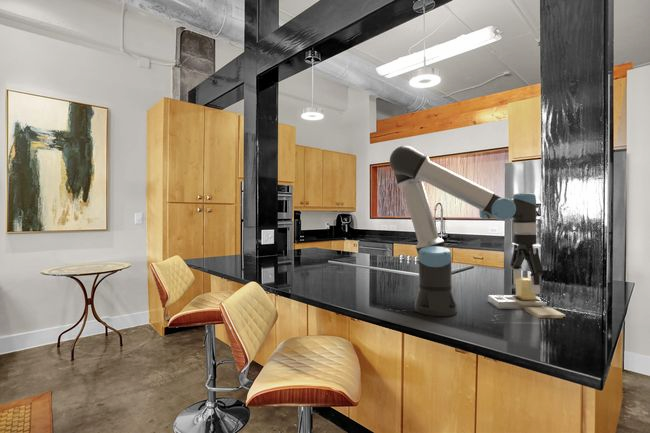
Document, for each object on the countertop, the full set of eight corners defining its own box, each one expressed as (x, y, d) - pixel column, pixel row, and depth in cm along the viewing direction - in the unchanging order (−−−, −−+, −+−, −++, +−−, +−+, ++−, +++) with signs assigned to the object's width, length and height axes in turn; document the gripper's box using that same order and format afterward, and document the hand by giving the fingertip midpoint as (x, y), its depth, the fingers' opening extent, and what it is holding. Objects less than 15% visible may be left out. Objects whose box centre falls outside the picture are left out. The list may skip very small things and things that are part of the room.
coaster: (537, 319, 114) (537, 314, 114) (524, 311, 123) (524, 307, 123) (565, 319, 114) (565, 315, 114) (550, 311, 123) (550, 307, 123)
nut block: (522, 306, 127) (521, 280, 127) (515, 303, 132) (515, 277, 132) (536, 307, 127) (535, 280, 127) (529, 303, 132) (529, 277, 132)
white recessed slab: (498, 309, 126) (498, 301, 126) (488, 302, 136) (488, 294, 136) (549, 310, 124) (549, 301, 124) (535, 302, 134) (535, 295, 134)
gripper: (554, 235, 116) (555, 297, 117) (519, 231, 141) (520, 282, 141) (531, 236, 117) (532, 297, 117) (501, 231, 142) (502, 282, 142)
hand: (526, 289), depth 129 cm, fingers open, 13 cm apart
